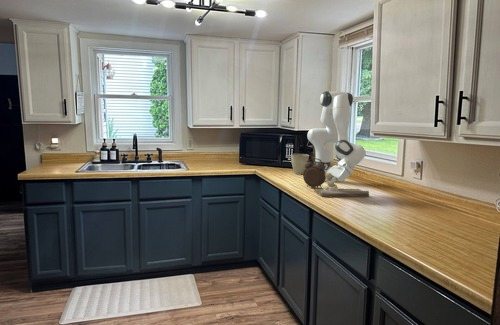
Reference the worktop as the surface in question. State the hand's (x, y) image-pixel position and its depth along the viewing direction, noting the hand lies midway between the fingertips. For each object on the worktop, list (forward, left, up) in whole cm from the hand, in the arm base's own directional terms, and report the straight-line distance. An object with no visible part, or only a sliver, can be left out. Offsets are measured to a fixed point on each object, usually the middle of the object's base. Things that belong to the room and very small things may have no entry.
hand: (327, 182), depth 215 cm
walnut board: (-1, +10, -8) cm, 12 cm away
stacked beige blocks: (0, +3, -5) cm, 6 cm away
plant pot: (-75, +5, -8) cm, 76 cm away
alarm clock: (-20, -1, -8) cm, 22 cm away
